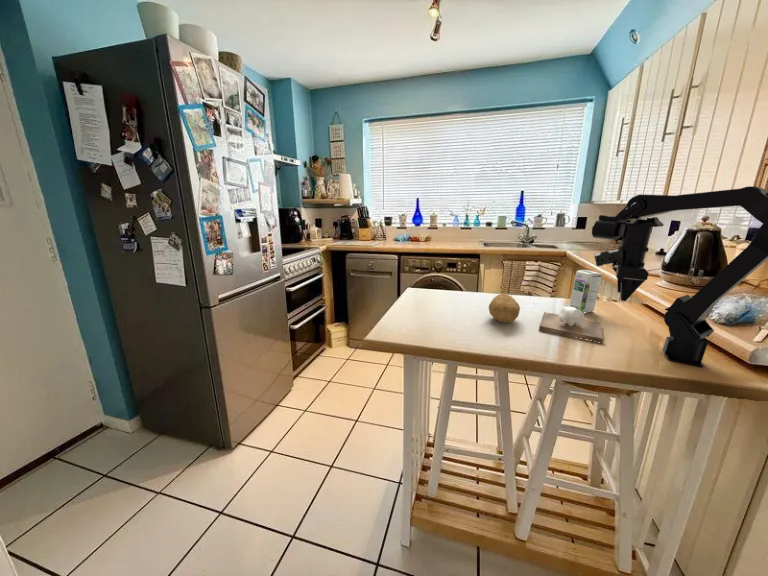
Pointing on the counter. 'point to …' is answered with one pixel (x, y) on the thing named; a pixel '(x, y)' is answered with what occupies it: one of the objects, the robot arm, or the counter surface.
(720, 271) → the robot arm
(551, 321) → the walnut board
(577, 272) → the syrup box
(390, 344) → the counter surface
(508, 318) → the potato
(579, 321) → the elephant figurine
